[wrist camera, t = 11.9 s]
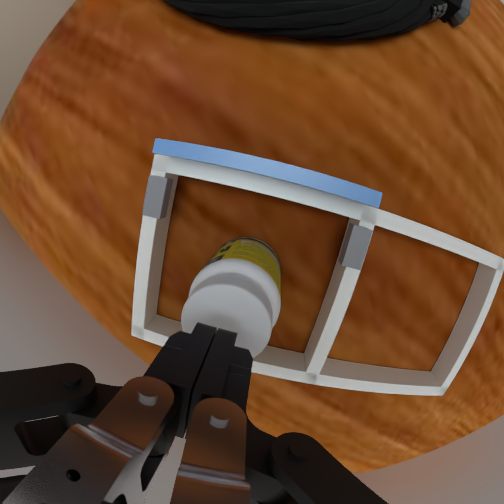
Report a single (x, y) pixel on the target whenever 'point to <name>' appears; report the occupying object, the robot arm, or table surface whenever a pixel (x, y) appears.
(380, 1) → the cable lock
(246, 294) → the supplement bottle
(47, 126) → the table surface
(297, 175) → the two-slot divided caddy
